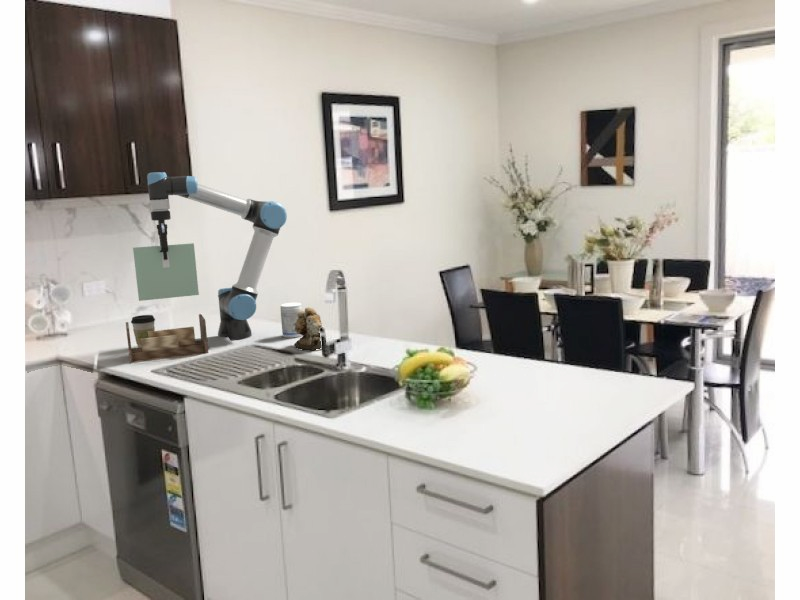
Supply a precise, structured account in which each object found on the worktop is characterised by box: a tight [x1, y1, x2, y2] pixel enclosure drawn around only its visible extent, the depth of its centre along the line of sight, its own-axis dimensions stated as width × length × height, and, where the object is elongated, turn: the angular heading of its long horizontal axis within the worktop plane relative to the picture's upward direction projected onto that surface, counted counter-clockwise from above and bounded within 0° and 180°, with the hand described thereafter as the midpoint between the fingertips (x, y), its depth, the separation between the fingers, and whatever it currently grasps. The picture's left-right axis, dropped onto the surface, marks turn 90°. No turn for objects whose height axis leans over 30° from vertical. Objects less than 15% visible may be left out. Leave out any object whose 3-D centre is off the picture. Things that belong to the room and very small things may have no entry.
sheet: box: [132, 242, 200, 302], centre depth 287 cm, size 24×1×22 cm, turn 112°
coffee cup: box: [130, 314, 156, 348], centre depth 296 cm, size 10×10×15 cm
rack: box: [125, 314, 209, 364], centre depth 281 cm, size 30×14×16 cm, turn 112°
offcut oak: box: [148, 326, 196, 346], centre depth 284 cm, size 18×1×10 cm, turn 112°
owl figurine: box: [293, 306, 323, 351], centre depth 290 cm, size 18×12×17 cm, turn 41°
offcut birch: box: [141, 335, 179, 352], centre depth 279 cm, size 14×1×8 cm, turn 112°
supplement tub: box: [279, 302, 303, 339], centre depth 313 cm, size 10×10×15 cm
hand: (166, 267), depth 287 cm, fingers closed on sheet
